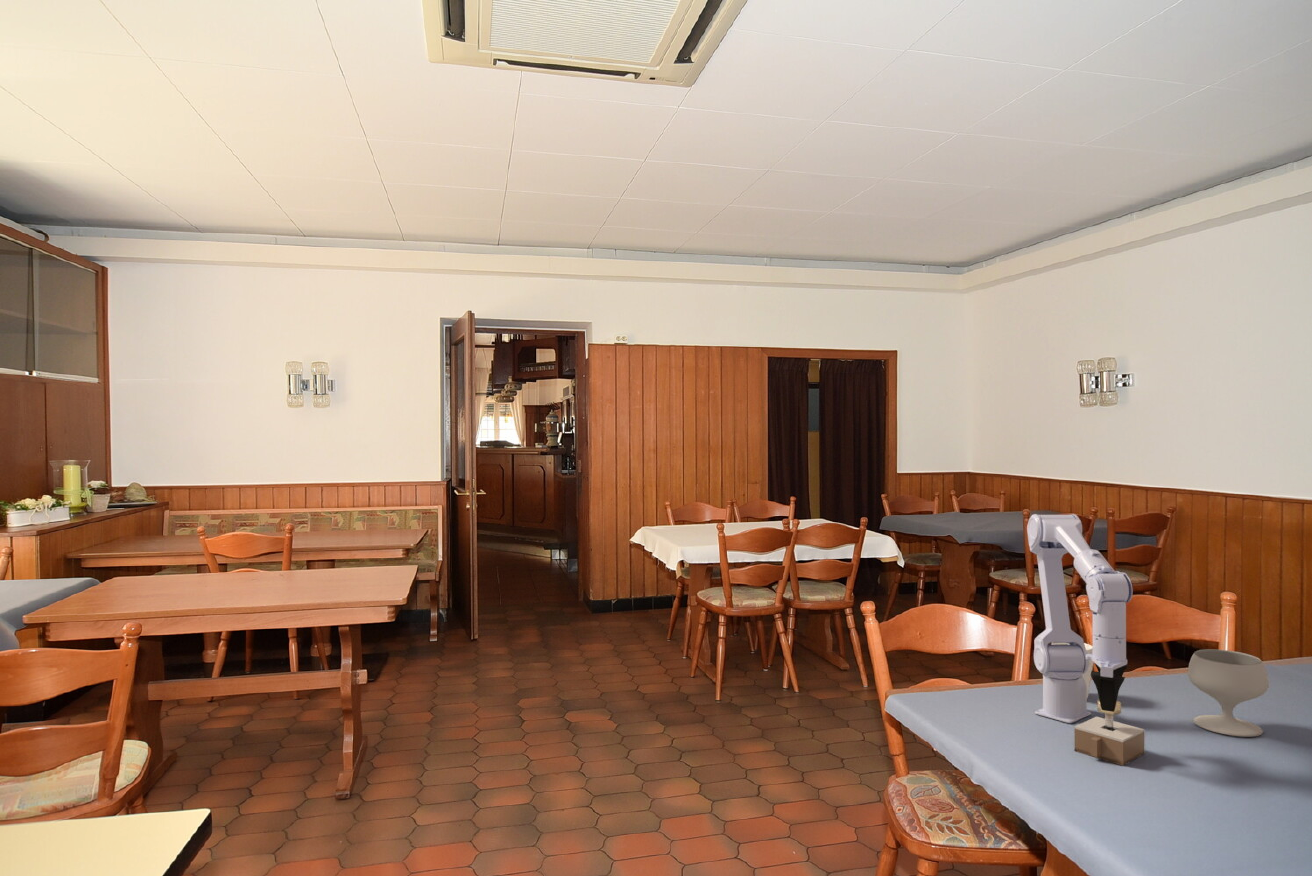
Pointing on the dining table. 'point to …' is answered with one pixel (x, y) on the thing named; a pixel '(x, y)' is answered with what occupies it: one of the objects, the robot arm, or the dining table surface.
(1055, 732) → the dining table surface
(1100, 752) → the tan box
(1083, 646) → the robot arm
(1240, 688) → the chalice
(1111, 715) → the plunger
